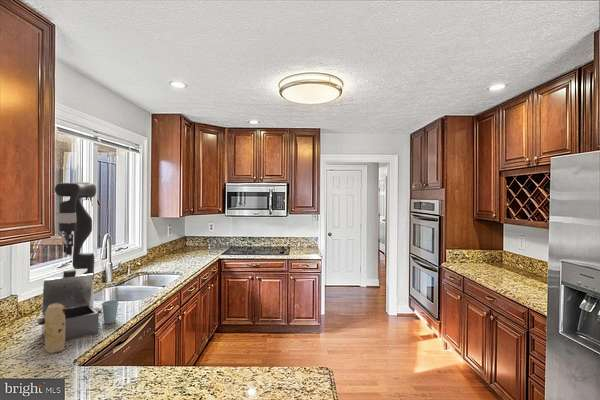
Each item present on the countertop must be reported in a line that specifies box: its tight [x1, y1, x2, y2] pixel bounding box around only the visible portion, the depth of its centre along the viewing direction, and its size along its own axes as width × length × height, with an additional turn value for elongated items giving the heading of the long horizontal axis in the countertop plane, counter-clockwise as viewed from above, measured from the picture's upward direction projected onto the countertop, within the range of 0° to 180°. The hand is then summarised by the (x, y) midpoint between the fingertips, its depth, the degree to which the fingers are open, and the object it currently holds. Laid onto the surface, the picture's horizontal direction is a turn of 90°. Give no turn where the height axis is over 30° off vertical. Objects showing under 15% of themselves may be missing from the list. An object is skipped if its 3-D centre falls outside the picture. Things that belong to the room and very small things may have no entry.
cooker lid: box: [41, 269, 93, 314], centre depth 176 cm, size 21×20×2 cm
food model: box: [44, 303, 66, 354], centre depth 152 cm, size 10×7×20 cm
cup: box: [101, 299, 119, 324], centre depth 188 cm, size 8×8×10 cm
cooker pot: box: [36, 305, 103, 342], centre depth 171 cm, size 18×26×10 cm
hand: (67, 253), depth 180 cm, fingers open, 8 cm apart
